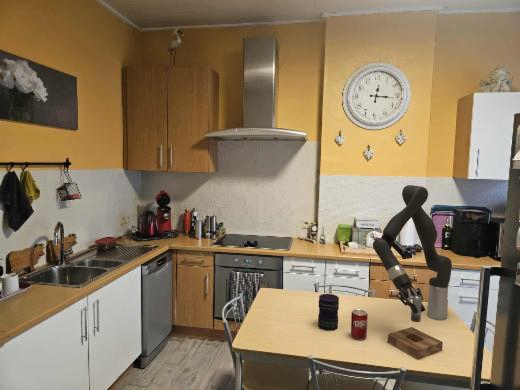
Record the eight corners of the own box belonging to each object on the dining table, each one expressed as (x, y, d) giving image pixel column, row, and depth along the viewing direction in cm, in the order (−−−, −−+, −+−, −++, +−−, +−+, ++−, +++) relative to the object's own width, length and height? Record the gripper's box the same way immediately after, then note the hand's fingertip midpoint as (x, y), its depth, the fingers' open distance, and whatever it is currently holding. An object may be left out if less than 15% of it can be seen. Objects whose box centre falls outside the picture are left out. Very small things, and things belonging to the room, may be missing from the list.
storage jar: (341, 326, 179) (342, 297, 177) (331, 333, 172) (332, 302, 170) (324, 320, 186) (325, 292, 184) (313, 326, 178) (314, 297, 177)
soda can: (348, 333, 172) (349, 309, 171) (363, 333, 172) (364, 308, 171) (353, 340, 164) (354, 315, 163) (369, 340, 165) (370, 315, 164)
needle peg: (414, 317, 162) (416, 293, 161) (422, 321, 158) (424, 296, 157) (408, 319, 160) (410, 295, 159) (416, 322, 156) (418, 298, 155)
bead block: (411, 334, 171) (411, 326, 171) (442, 350, 157) (442, 341, 157) (387, 342, 163) (387, 334, 163) (417, 359, 149) (418, 350, 149)
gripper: (393, 275, 161) (414, 311, 151) (414, 271, 167) (436, 305, 158) (383, 283, 166) (403, 318, 156) (404, 278, 172) (425, 312, 163)
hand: (420, 311), depth 157 cm, fingers closed on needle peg, 4 cm apart
